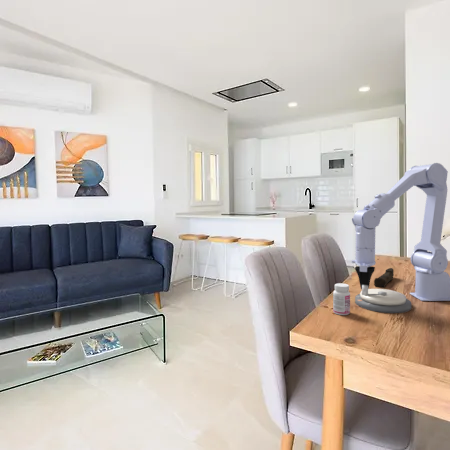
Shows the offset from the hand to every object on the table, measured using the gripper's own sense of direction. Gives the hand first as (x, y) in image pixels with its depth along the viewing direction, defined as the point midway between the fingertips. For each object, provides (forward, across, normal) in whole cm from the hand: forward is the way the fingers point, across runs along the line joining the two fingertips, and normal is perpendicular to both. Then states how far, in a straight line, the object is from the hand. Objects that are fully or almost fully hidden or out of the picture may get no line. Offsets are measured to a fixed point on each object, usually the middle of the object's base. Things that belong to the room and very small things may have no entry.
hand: (364, 289), depth 104 cm
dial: (+3, -1, +5) cm, 6 cm away
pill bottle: (+5, +12, -6) cm, 14 cm away
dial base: (+4, -1, +5) cm, 7 cm away
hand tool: (+5, -30, +5) cm, 31 cm away
